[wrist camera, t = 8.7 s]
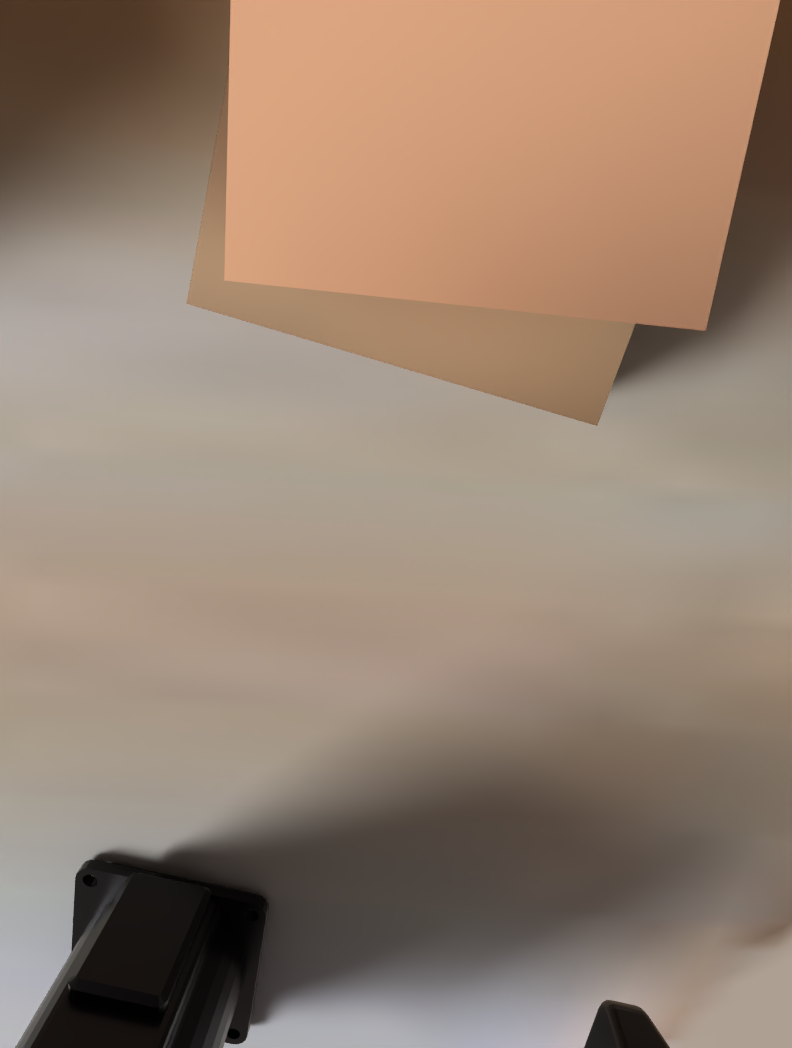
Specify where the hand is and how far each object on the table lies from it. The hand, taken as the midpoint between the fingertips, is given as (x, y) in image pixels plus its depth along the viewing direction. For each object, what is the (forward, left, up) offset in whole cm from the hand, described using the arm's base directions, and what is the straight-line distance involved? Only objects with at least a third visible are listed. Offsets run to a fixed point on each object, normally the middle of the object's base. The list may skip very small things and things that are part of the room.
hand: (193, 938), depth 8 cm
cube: (+10, -1, -9) cm, 14 cm away
